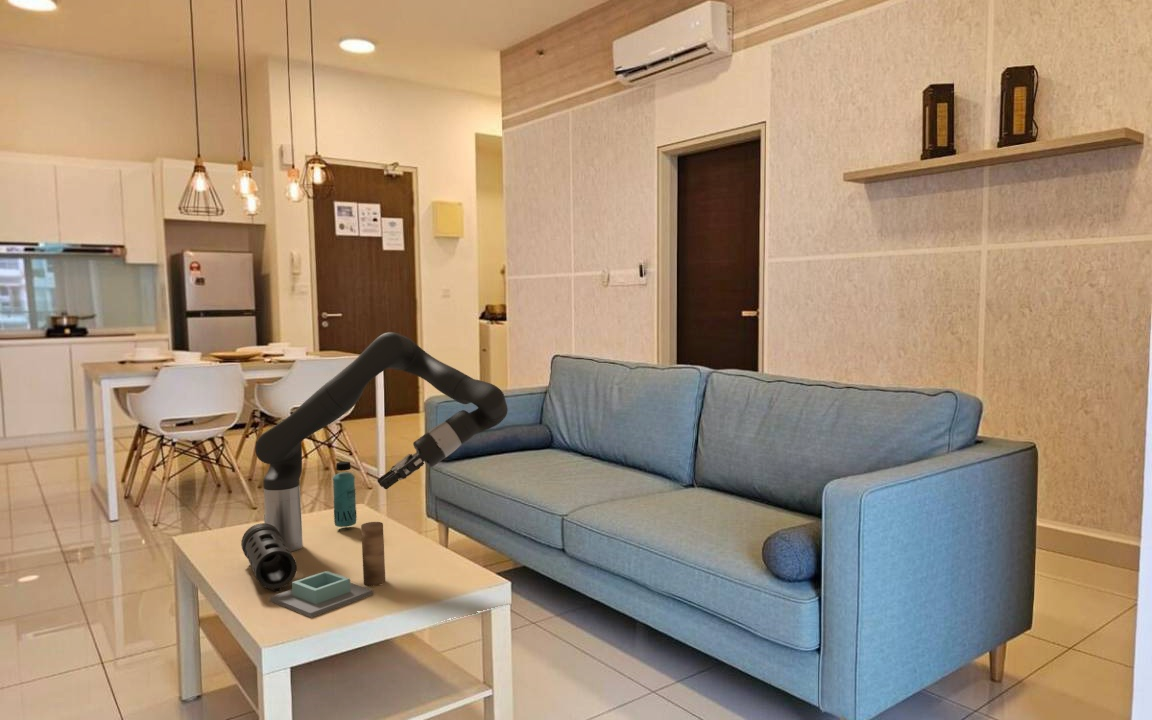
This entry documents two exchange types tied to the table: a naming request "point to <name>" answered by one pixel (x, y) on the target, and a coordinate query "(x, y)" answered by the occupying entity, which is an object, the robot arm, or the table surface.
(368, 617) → the table surface
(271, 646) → the table surface
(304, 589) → the socket stand
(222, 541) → the table surface
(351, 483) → the beverage bottle
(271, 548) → the muzzle brake
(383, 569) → the walnut peg
